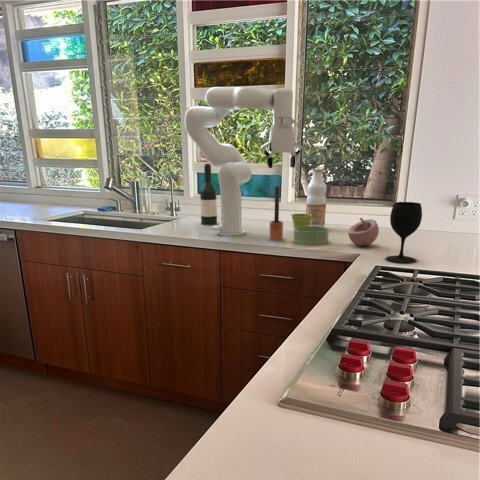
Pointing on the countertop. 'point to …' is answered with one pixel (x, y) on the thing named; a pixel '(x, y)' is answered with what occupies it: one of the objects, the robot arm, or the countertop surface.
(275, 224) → the utensil pot
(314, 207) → the fruit juice
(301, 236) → the bowl
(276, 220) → the stick
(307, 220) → the plant pot
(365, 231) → the mortar and pestle
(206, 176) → the wine bottle
